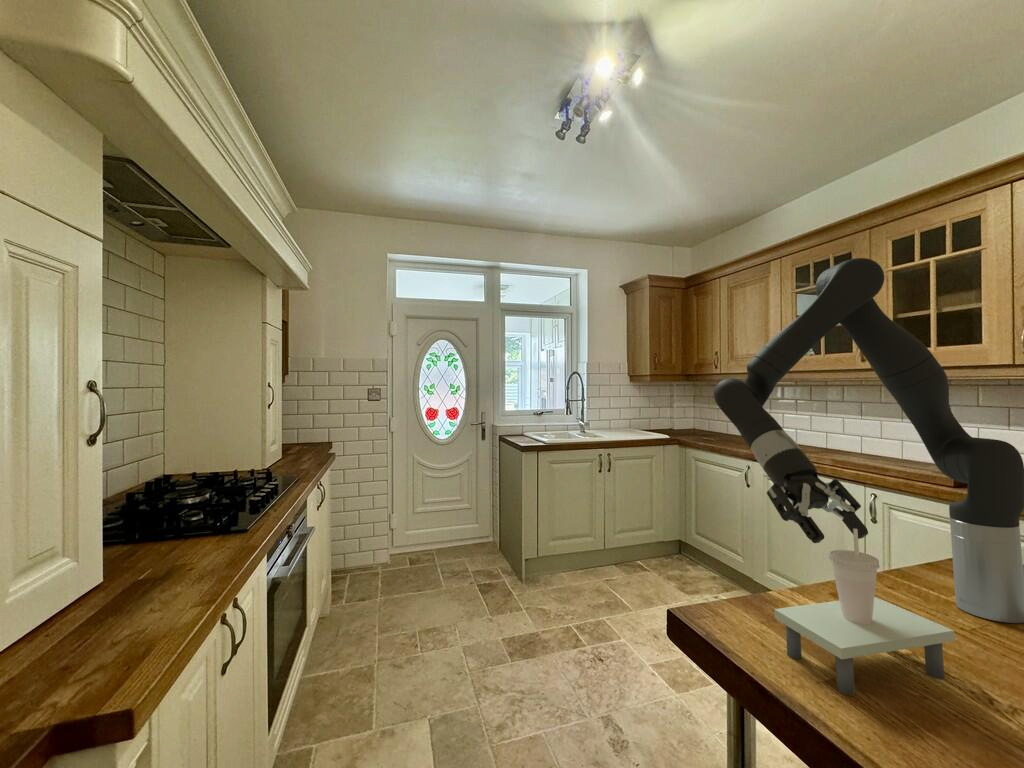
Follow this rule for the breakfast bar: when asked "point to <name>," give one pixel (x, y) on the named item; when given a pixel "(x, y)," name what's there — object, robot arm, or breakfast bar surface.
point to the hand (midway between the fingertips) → (841, 538)
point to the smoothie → (855, 582)
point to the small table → (863, 636)
